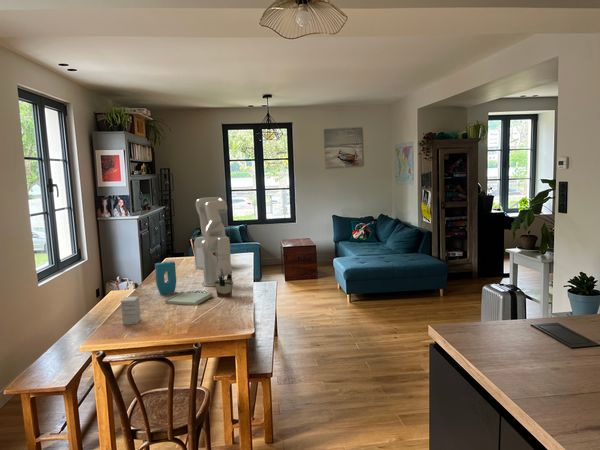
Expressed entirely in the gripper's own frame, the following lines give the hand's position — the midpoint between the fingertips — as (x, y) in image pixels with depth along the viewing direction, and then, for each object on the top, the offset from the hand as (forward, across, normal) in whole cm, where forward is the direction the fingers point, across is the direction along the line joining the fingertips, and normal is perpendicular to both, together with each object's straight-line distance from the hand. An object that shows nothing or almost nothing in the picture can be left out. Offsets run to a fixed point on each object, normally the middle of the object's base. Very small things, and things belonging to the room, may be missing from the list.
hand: (226, 284), depth 272 cm
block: (+7, 0, -42) cm, 43 cm away
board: (+7, +11, -20) cm, 24 cm away
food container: (+8, 0, 0) cm, 8 cm away
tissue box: (+5, -77, -54) cm, 94 cm away
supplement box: (+8, +54, -28) cm, 62 cm away
